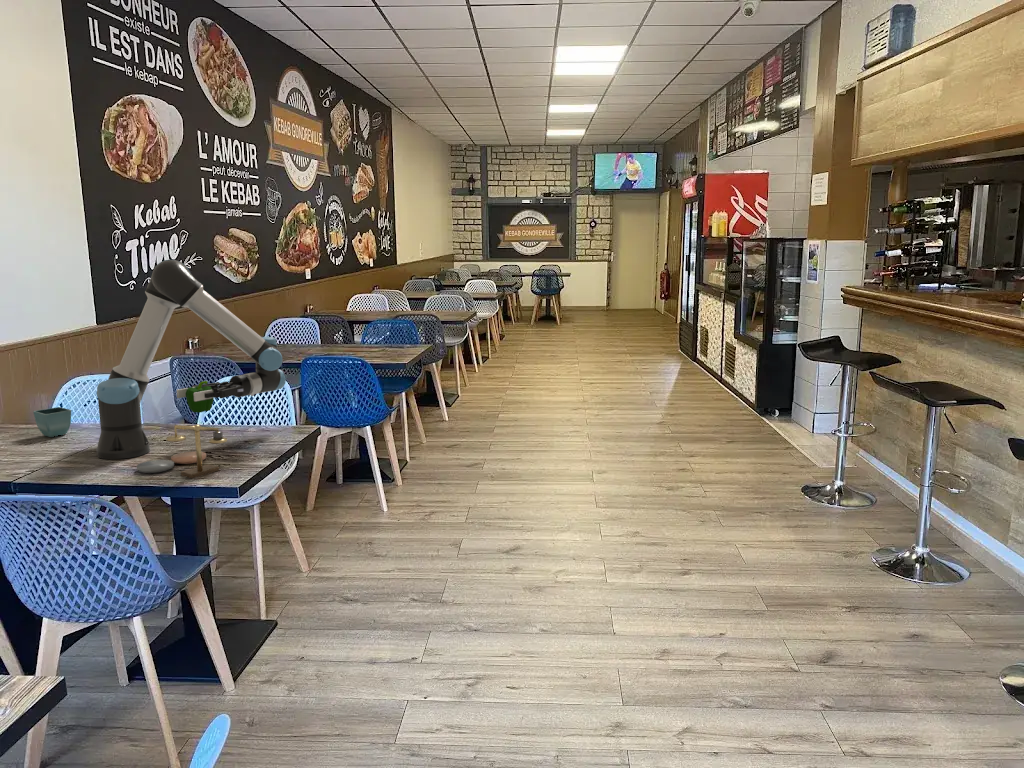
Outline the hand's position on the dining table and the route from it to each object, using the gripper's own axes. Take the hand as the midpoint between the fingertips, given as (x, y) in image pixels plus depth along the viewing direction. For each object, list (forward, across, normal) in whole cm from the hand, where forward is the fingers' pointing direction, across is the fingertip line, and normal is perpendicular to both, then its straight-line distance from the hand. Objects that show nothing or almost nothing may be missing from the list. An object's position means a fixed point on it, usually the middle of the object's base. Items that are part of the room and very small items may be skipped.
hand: (186, 395), depth 238 cm
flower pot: (+13, +57, -19) cm, 61 cm away
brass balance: (+13, -24, -18) cm, 33 cm away
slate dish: (+18, -10, -18) cm, 28 cm away
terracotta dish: (+7, -10, -18) cm, 22 cm away
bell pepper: (-5, 0, -6) cm, 8 cm away
